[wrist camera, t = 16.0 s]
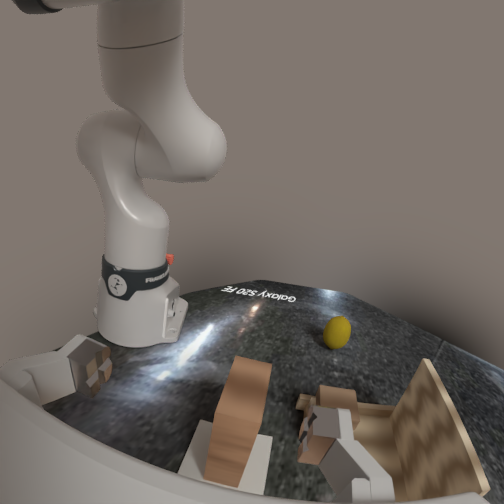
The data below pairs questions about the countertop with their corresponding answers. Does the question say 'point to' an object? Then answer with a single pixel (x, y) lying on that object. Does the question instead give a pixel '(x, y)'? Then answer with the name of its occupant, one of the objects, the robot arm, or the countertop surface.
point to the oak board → (237, 421)
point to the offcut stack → (336, 401)
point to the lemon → (337, 332)
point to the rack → (420, 441)
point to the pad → (253, 471)
